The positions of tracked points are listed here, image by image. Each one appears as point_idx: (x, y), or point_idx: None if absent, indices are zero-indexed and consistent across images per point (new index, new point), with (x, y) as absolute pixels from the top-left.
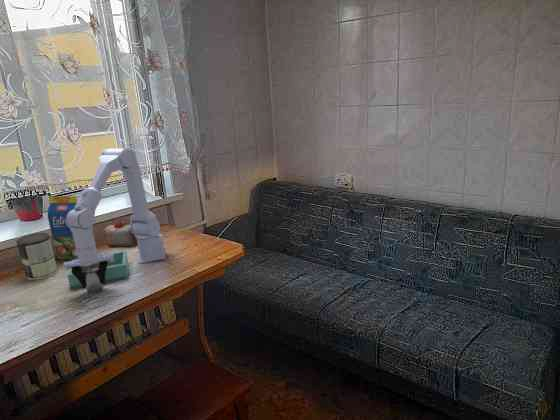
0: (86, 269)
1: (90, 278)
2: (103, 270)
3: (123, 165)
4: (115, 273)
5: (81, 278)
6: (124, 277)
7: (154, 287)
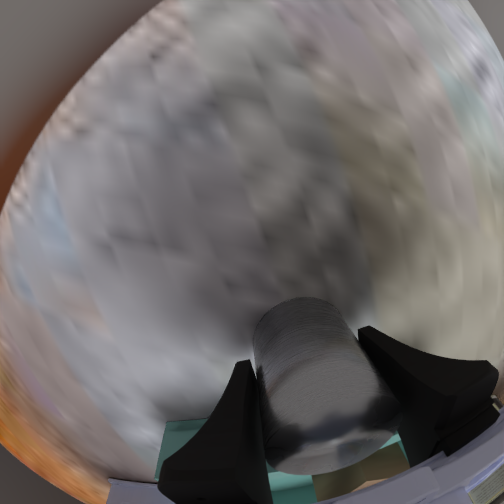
0: (370, 461)
1: (330, 369)
2: (206, 442)
3: None
4: None
5: (403, 362)
6: (179, 425)
7: (6, 295)
